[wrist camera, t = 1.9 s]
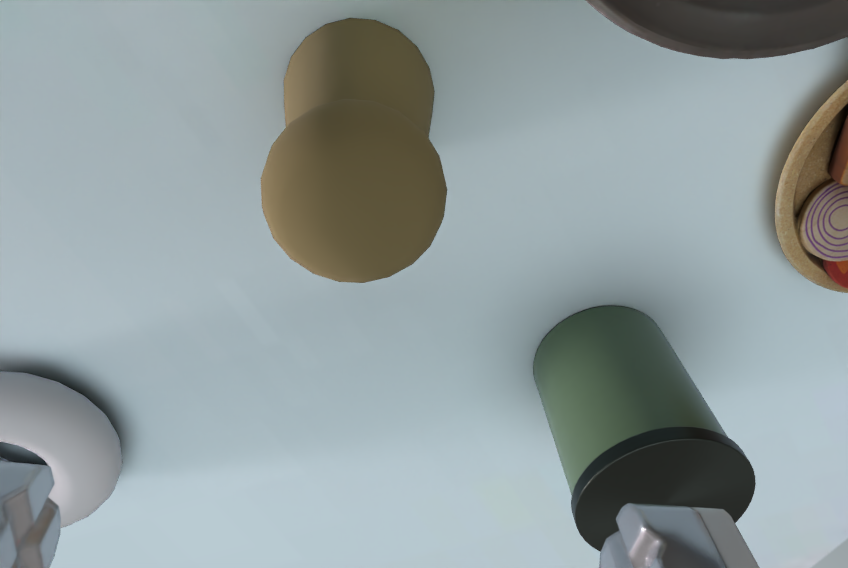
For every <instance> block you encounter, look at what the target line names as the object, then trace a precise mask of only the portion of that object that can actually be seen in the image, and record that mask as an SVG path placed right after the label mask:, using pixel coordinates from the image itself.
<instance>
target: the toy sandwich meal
mask: <svg viewBox="0 0 848 568" xmlns="http://www.w3.org/2000/svg"><path fill="white" fill-rule="evenodd" d="M775 225H776V231H777V236H778V239H779V243H780V245H781V248H782V250H783V252H784V254H785V256H786V258H787V259H788V261H789V262H790V263H791V265H792V266H793V267H794V268H795V269H796V270H797V271H798V272H799V273H800V274H802V275H803V276H804V277H805V278H807V279H808V280H810V281H811V282H813V283H815V284H817V285H819V286H822V287H825V288H827V289H830V290H834V291H838V292H844V293H848V80H847V81H846V82H845V83H844V84H843V85H842V86H841V87H839V88H838V89H837V90H836V91H835V92H834V93H833V94H832V95H831V96H830V97H829V98H828V100H827V101H826V102H825V103H824V104H823V105H822V106H821V107H820V109H819V110H818V111H817V112H816V113H815V115H814V116H813V117H812V118H811V120H810V121H809V122H808V124H807V125H806V127H805V128H804V129H803V131H802V132H801V134H800V136H799V137H798V139H797V141H796V143H795V144H794V146H793V148H792V150H791V152H790V154H789V156H788V158H787V161H786V163H785V166H784V168H783V171H782V174H781V177H780V180H779V184H778V188H777V194H776V201H775Z"/></svg>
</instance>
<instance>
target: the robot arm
mask: <svg viewBox="0 0 848 568" xmlns="http://www.w3.org/2000/svg"><path fill="white" fill-rule="evenodd" d="M54 484H55V482H54V478H53V474H52V469H51V466H46V465H38V464H27V463H16V462H5V461H0V568H49V567H50V565H51V563H52V561H53V558H54V556H55V552H56V548H57V544H58V540H59V537H60V527H61V516H60V509H59V506H58V505H57V504H56V503H55V502H54V501H53V500H51V499H50V498H49V497H48V496H49V494H50V492H51V490H52V488H53V486H54ZM616 521H617V524H618V527H619V531H617V532H616V533H614V534H612V535H611V536H609V537H608V538H606V541H605V543H604V545H603V548H602V550H601V553H600V564H599V568H759V566H758V564H757V562H756V560H755V559H754V557H753V555H752V553H751V551H750V550H749V548H748V546H747V544H746V542H745V541H744V539H743V537H742V535H741V533H740V532H739V530H738V528H737V526H736V524H735V522H734V521H733V519H732V517H731V516H730V515H729V514H728V513H727V512H726V511H725V510H724V509H713V508H698V507H687V506H673V505H654V504H635V503H628V504H626V505H625V506H623V507H622V508H621V510H620V512H619V514H618V515H617V517H616Z"/></svg>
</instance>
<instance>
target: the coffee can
mask: <svg viewBox="0 0 848 568" xmlns="http://www.w3.org/2000/svg"><path fill="white" fill-rule="evenodd" d="M586 1H587V2H588V3H589V4H590V5H591V6H592V7H594V8H595V9H596V10H597V11H598V12H600V13H601V14H602V15H604V16H605V17H606V18H608V19H609V20H610V21H612V22H613V23H615V24H616V25H618V26H619V27H621V28H623V29H624V30H626V31H628V32H629V33H631V34H634V35H636V36H638V37H640V38H643V39H645V40H647V41H649V42H652V43H654V44H656V45H659V46H661V47H664V48H668V49H671V50H674V51H678V52H682V53H687V54H692V55H697V56H703V57H711V58H720V59H729V58H738V59H754V58H766V57H774V56H781V55H787V54H791V53H796V52H800V51H804V50H809V49H814V48H817V47H820V46H823V45H826V44H829V43H832V42H834V41H837V40H840V39H842V38H845V37H848V0H586Z"/></svg>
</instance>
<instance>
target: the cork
mask: <svg viewBox="0 0 848 568" xmlns="http://www.w3.org/2000/svg"><path fill="white" fill-rule="evenodd" d="M433 100H434V87H433V82H432V78H431V73H430V69H429V66H428V65H427V63H426V61H425V60H424V58H423V56H422V54H421V53H420V51H419V49H418V48H417V46H416V45H415V44H413V43H412V42H411V41H410V40H409V39H408V38H407V37H406V36H404V35H403V34H402V33H401V32H400V31H399V30H397V29H395V28H392V27H390V26H388V25H385V24H383V23H381V22H379V21H376V20H368V19H356V18H348V19H344V20H340V21H336V22H332V23H329V24H325V25H324V26H323V27H321V28H320V29H318V30H317V31H315V32H314V33H312V34H311V35H309V36H308V37H306V38H305V39H304V41H303V42H302V43H301V45H300V46H299V47H298V49H297V50H296V51H295V53H294V54H293V55H292V57H291V59H290V62H289V65H288V69H287V72H286V75H285V78H284V107H285V122H286V128H285V129H284V131H283V132H282V133H281V134H280V136H279V137H278V138H277V140H276V141H275V142H274V143H273V145H272V147H271V150H270V152H269V155H268V158H267V161H266V164H265V167H264V170H263V174H262V177H261V196H262V208H263V212H264V215H265V218H266V221H267V223H268V226H269V228H270V231H271V233H272V236H273V238H274V239H275V241H276V242H277V243H278V244H279V245H280V247H281V248H282V249H283V250H284V251H285V253H286V254H287V255H288V256H289V257H290V259H292V260H294V261H295V262H297V263H298V264H300V265H301V266H303V267H304V268H306V269H307V270H309V271H310V272H312V273H314V274H316V275H319V276H323V277H326V278H329V279H332V280H335V281H338V282H357V283H365V282H369V281H373V280H378V279H382V278H386V277H390V276H392V275H394V274H395V273H397V272H399V271H401V270H403V269H405V268H406V267H408V266H410V265H412V264H413V263H414V262H415V261H416V260H417V259H418V258H419V257H420V256H421V255H422V254H423V253H424V252H425V251H426V250H427V249H428V248H429V247H430V245H431V243H432V241H433V239H434V237H435V235H436V233H437V231H438V229H439V227H440V225H441V223H442V220H443V217H444V211H445V203H446V195H447V187H446V182H445V178H444V174H443V169H442V165H441V161H440V157H439V155H438V153H437V151H436V150H435V148H434V147H433V145H432V143H431V142H430V140H429V138H428V137H429V130H430V124H431V118H432V110H433Z"/></svg>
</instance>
